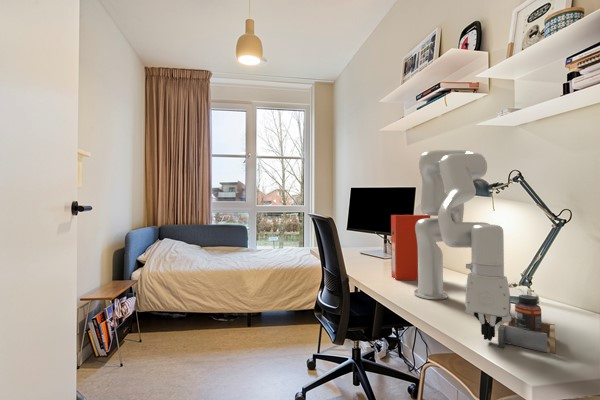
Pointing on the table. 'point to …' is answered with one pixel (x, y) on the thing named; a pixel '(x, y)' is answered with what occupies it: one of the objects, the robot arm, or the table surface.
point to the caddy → (546, 328)
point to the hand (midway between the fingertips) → (488, 338)
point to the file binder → (404, 246)
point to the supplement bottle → (528, 314)
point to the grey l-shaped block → (522, 338)
